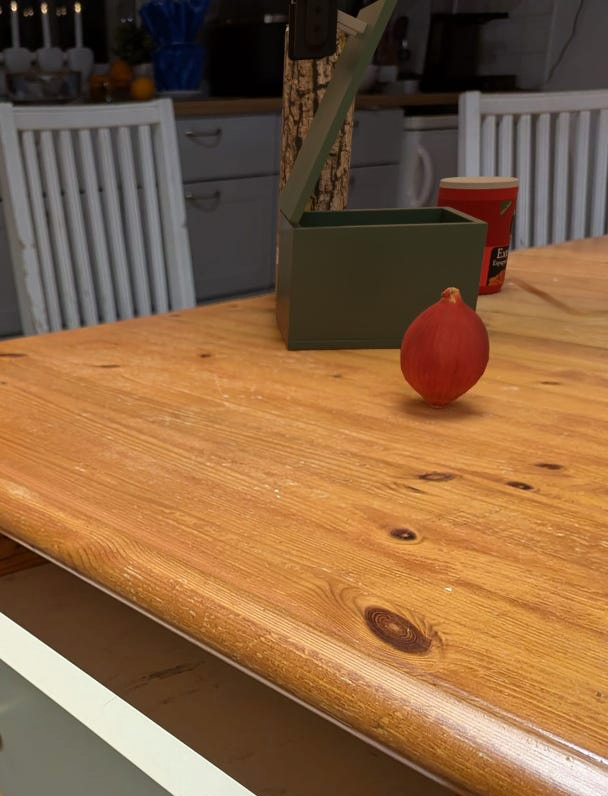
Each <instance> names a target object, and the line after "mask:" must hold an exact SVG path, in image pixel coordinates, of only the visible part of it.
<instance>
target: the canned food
mask: <svg viewBox="0 0 608 796" xmlns="http://www.w3.org/2000/svg"><path fill="white" fill-rule="evenodd" d="M519 187H520V179H518V178H517V177H513V176H512V177H511V176H486V175H485V176H457V177H446V178H445V177H444V178H442V179H440V183H439V186H438V195H437V201H436V207H450V208H453V209H455V210H458V211H460V212H463V213H465V214H467V215H470V216H472V217H474V218H477V219H479V220H482V221H484V222H486V223H488V228H487V235H486V242H485V249H484V256H483V263H482V270H481V277H480V285H479V292H478V296H479V295H489V294H490V295H491V294H495V293H497V292H499V291H501V289H502V287H503V285H504V283H505V278H506V272H507V266H508V259H509V253H510V246H511V239H512V235H513V234H512V233H513V227H514V222H515V214H516V208H517V202H518V195H519Z"/></svg>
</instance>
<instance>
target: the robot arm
mask: <svg viewBox="0 0 608 796" xmlns="http://www.w3.org/2000/svg"><path fill="white" fill-rule="evenodd" d="M338 10H339V0H291V3H289V4H288V24H289V33H288V58H289V60H291V61H296V60H314V59H323V58H325V57H327V56H332V55H334V54H335V52H336V40H337V20H338Z"/></svg>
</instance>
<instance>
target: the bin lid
mask: <svg viewBox="0 0 608 796" xmlns="http://www.w3.org/2000/svg"><path fill="white" fill-rule="evenodd" d="M397 2H398V0H377V1H375V2H373V3H371V4H369V5H367V6H366V7H363V8H361V9H360V10H359V12H358V14H357V17H354V16H352V15H350V14H347V13H346V12H343V11H341V10H339V9H338V20H337V29H339V30H341V31H343V32H345V33H347V34H349V37H348V39H347V42H346V44H345V46H344V49H343V51H342V53H341V56H340V58H339V60H338V63H337V65H336V67H335V70H334V72H333V74H332V77H331V79H330V81H329V84H328V86H327V88H326V91H325V93H324V95H323V98H322V100H321V102H320V105H319V107H318V109H317V112H316V114H315V116H314V119H313V121H312V123H311V126H310V128H309V130H308V133H307V135H306V137H305V140H304V142H303V144H302V147H301V149H300V151H299V154H298V156H297V158H296V161H295V163H294V165H293V168H292V170H291V172H290V175H289V177H288V179H287V182H286V184H285V186H284V189H283V191H282V193H281V196H280V198H279V197H278V200H277V203H276V205H277V208H278V207H279V208H280V209H281V210H282V211H283V213H284V214H285V215H286V216H287V218H288V219H289V220H290V221H292V222H294V223H296V224H299V221H300V219H301V217H302V215H303V212H304V210H305V208H306V206H307V203H308V201H309V199H310V196H311V194H312V192H313V190H314V187H315V185H316V183H317V181H318V178H319V176H320V174H321V172H322V169H323V167H324V165H325V163H326V160H327V158H328V156H329V154H330V151H331V149H332V147H333V145H334V142H335V140H336V138H337V136H338V133H339V131H340V129H341V127H342V124H343V122H344V120H345V118H346V115H347V113H348V111H349V109H350V106H351V104H352V102H353V99H354V97H355V98H356V95H357V93H358V91H359V88H360V86H361V84H362V82H363V79H364V77H365V75H366V72H367V70H368V68H369V65H370V63H371V61H372V59H373V56H374V54H375V52H376V49H377V47H378V46H379V43H380V41H381V39H382V36H383V34H384V32H385V30H386V27H387V26H388V23H389V20H390V18H391V16H392V13H393V11H394V9H395V7H396V5H397Z"/></svg>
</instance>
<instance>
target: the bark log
mask: <svg viewBox="0 0 608 796" xmlns="http://www.w3.org/2000/svg"><path fill="white" fill-rule="evenodd" d="M285 26H286V29H285V35H284V59H283V60H284V61H283V82H282V83H283V85H282V87H283V88H282V106H281V107H282V109H281V110H282V111H281V131H280V155H279V157H280V158H279V159H280V160H279V180H278V181H279V182H278V183H279V184H278V199H279V198H280V196H281V193H282V191H283V189H284V186H285V184H286V182H287V179H288V177H289V175H290V172H291V170H292V168H293V165H294V163H295V161H296V158H297V156H298V154H299V151H300V149H301V147H302V144H303V142H304V140H305V137H306V135H307V133H308V130H309V128H310V126H311V123H312V121H313V119H314V116H315V114H316V112H317V109H318V107H319V105H320V102H321V100H322V98H323V95H324V93H325V91H326V88H327V86H328V84H329V81H330V79H331V77H332V74H333V72H334V70H335V67H336V65H337V63H338V60H339V58H340V56H341V53H342V51H343V49H344V46H345V44H346V42H347V39H348V37H349V34H347V33H345V32H343V31H341V30H339V29H337V40H336V52H335V54H334V55H332V56H327V57H325V58H323V59H314V60H296V61H291V60H289V58H288V33H289V23H288V24H286V25H285ZM355 100H356V96H355V97H354V99H353V102H352V104H351V106H350V109H349V111H348V113H347V115H346V118H345V120H344V122H343V124H342V127H341V129H340V131H339V133H338V136H337V138H336V140H335V142H334V145H333V147H332V149H331V151H330V154H329V156H328V158H327V160H326V163H325V165H324V167H323V169H322V172H321V174H320V176H319V178H318V181H317V183H316V185H315V187H314V190H313V192H312V194H311V196H310V199H309V201H308V203H307V206H306V208H305V210H304V211H320V210H348V199H349V198H348V196H349V184H350V171H351V169H350V168H351V157H352V156H351V155H352V145H353V144H352V141H353V128H354V116H355V115H354V114H355V102H356V101H355ZM277 208H278V209H277V232H276V245H277V246H276V253H275V254H276V255H275V257H276V258H275V283H274V285H275V287H274V300H275V302H276V303H277V280H278V256H279V232H280V212H283V211H282V210H281V209H280V208H279V207H278V206H277Z"/></svg>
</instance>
